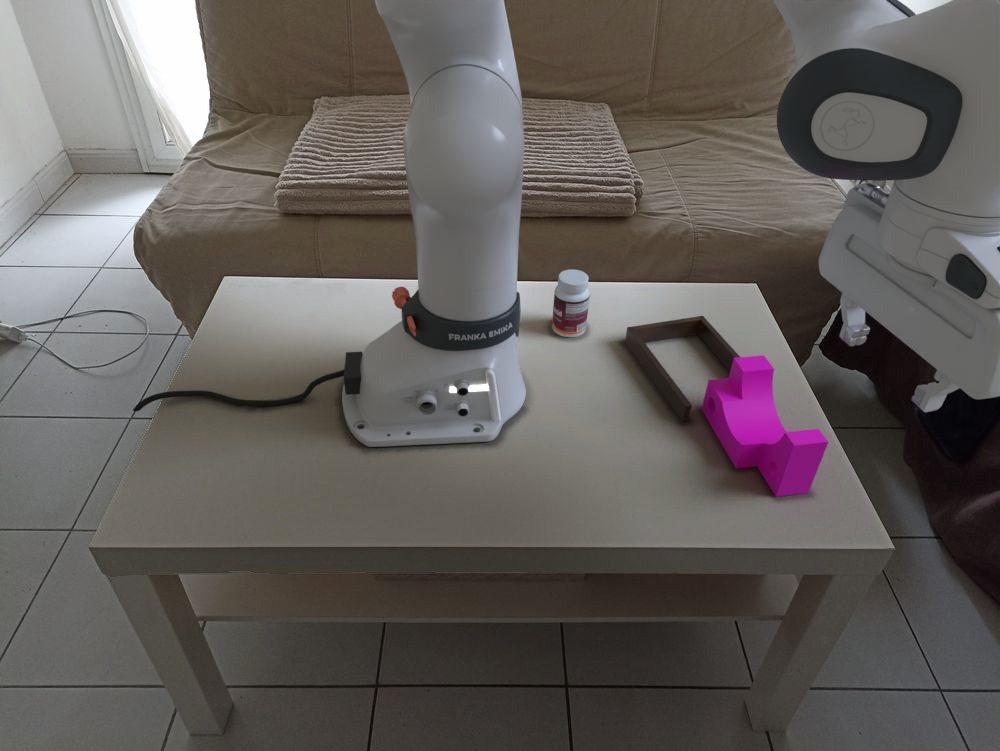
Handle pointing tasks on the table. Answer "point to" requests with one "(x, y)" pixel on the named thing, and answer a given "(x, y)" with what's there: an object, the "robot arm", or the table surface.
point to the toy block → (761, 428)
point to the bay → (673, 330)
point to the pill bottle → (571, 303)
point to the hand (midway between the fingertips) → (886, 371)
